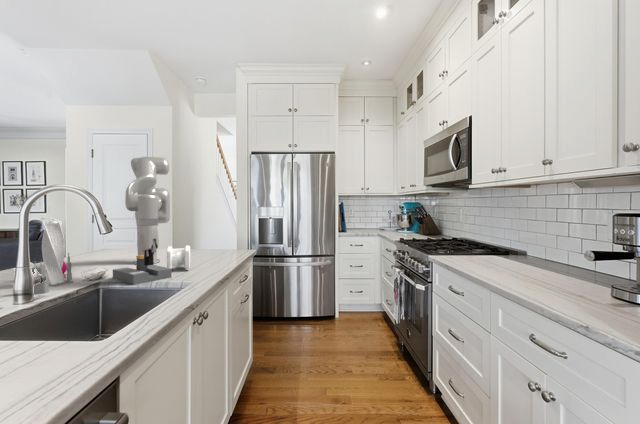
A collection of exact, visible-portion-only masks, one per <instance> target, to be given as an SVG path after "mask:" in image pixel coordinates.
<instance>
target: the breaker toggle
mask: <svg viewBox="0 0 640 424" xmlns="http://www.w3.org/2000/svg"><path fill="white" fill-rule="evenodd" d="M136 261H137V264H136V266H137V270H140V271H144V272H147V266H146V265H144V255H138V254H137V255H136Z"/></svg>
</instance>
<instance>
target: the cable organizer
mask: <svg viewBox="0 0 640 424" xmlns="http://www.w3.org/2000/svg"><path fill="white" fill-rule="evenodd" d="M191 252H192V251H191V246H190V245H189V244H188V245H185V247H182V248H181V247H180V248H173V246H172V245H168V247H167V249H166V268H171V270H172V269H175V270H176V268H185V270H186V271H189V270H191Z"/></svg>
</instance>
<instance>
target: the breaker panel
mask: <svg viewBox="0 0 640 424" xmlns="http://www.w3.org/2000/svg"><path fill="white" fill-rule="evenodd" d="M171 278H172V269H171V268H167V266H166V267H165V266H160V265H155V264H153V265H149V266H147V272H144V271H140V270H137V265H136V267H135V268H131V267H129V266H127V267H120V268H114V269H112V280H113V279H114V280H116V281H120V282H122V283H127V284H130V285H133V286H135V285H139V284H145V283H150V282H155V281H160V280H165V279H171Z"/></svg>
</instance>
